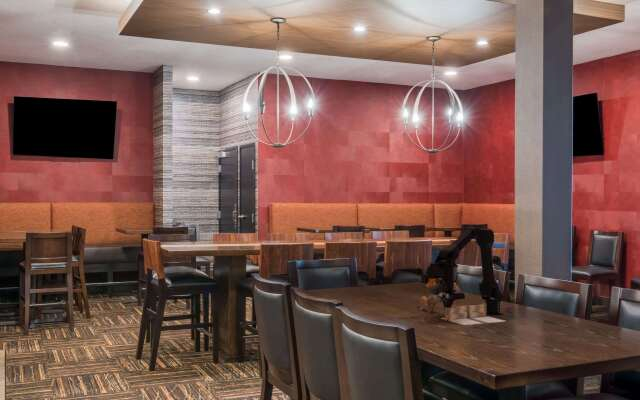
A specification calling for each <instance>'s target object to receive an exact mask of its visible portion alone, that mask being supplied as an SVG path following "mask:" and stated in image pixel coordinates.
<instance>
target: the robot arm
mask: <svg viewBox="0 0 640 400" xmlns="http://www.w3.org/2000/svg"><path fill="white" fill-rule="evenodd" d="M473 239H475V242H476V244H477V246H478V247H479V251H480V260H481V268H482V269H481V271H482V280H481V282H479V283H478V286H479V287H478V288H479V290H478V291H479V293H480V295H481V299H482V300H484V303H486V315H491V316H492V315H493V316H494V315H503V312H501V302H503V301H504V295H503V293H502V292H501V291H500V287H499V283H498V282H497V280H496V278H495V276H494V275H495V274H494V262H493V252H492V247H493V245H494V243H495V231H493V230H492V229H489V228H478V227H474V226H473V227H471V226H470V227H469V226H468V227H467V228H466V229H465V230H464V231H463V233H461V235H459V237H457V238H456V239H455V240H454V241H453V242H452V243H451V244H449V245H446V246H444V247H443V248H441V249H440V250H439V251H438V255H437V256H436V259H435V260H434V262H430V263H429V265H428V266H427V268H426V272H425V273H426V276H427V277H428V279H437V280H438V283H437V284H435V285H432V286H430V287H428V289H429V295H430V294H431V295H432V294H433V295H438V297H439V298H440V299H441V300H442V302H443V303H442V304H443V309H444V310H445V307H449V308H452V306H453V303H454V301H455V302H456V300H458V301H459V300H465V299H466V294H465V293H464V292H462V291H458V292H456V289H454V283H456V284H457V279H455V268H458V267H459V265H458V264H457V263H456V260H457V259H458V258H459V256H460V253H461V251H462V250H463V249H464V248H465V247H467V246H468V245H469V243H470V242H471V241H472V240H473ZM438 278H441V279H438Z"/></svg>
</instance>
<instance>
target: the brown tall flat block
mask: <svg viewBox="0 0 640 400" xmlns="http://www.w3.org/2000/svg"><path fill="white" fill-rule="evenodd" d="M469 306H470V305H469V304H465V305H462V306H454V307H452V306H451V308H449V307H445V309H444V318H445V320H444V321H447V320H454V319H461V318H469Z"/></svg>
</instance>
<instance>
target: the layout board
mask: <svg viewBox="0 0 640 400" xmlns="http://www.w3.org/2000/svg"><path fill="white" fill-rule="evenodd" d="M440 319H441V320H443V319H444V321H446V320H445V317H441V318H440ZM450 321H451V323H455V324H457V325H461V326H472V325H474V326H475V325H482V324H484V325H485V324H493V323H495V324H496V323H506V320H504V319H503V320H502V319H499V318H496V317H491V316H487V315H486V317H474V318H461V319H454V320H448V321H447V322H450Z"/></svg>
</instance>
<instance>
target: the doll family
mask: <svg viewBox="0 0 640 400" xmlns="http://www.w3.org/2000/svg"><path fill="white" fill-rule="evenodd" d="M439 279H441V278H437V279H430V278H428V282H427V284H426V285H425V287H426V288H429V287H430V286H432V285H435V284H437V283H438V281H439ZM454 289H456V292H461V289H460V288H459V284H457V282H456V283H454ZM428 295H429V296H431V294H430V293H429V294H428ZM429 296H428V297H429ZM439 303H441V304H443V302H442V300H440V302H439ZM454 303H455V304H457V301H456V300H455V301H454Z"/></svg>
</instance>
